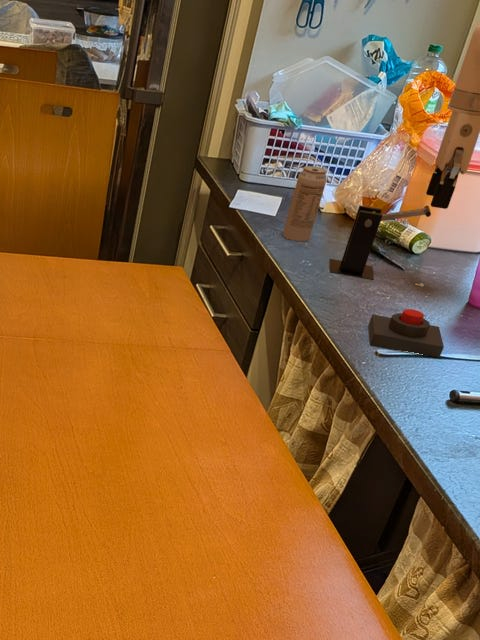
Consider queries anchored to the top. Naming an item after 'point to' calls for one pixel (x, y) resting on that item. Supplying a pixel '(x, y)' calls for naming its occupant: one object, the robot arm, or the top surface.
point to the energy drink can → (305, 203)
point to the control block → (405, 335)
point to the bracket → (359, 245)
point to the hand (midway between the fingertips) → (436, 201)
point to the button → (412, 317)
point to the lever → (406, 214)
